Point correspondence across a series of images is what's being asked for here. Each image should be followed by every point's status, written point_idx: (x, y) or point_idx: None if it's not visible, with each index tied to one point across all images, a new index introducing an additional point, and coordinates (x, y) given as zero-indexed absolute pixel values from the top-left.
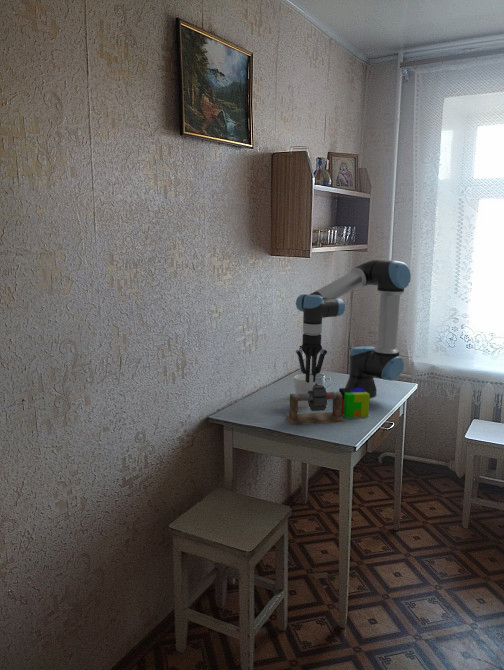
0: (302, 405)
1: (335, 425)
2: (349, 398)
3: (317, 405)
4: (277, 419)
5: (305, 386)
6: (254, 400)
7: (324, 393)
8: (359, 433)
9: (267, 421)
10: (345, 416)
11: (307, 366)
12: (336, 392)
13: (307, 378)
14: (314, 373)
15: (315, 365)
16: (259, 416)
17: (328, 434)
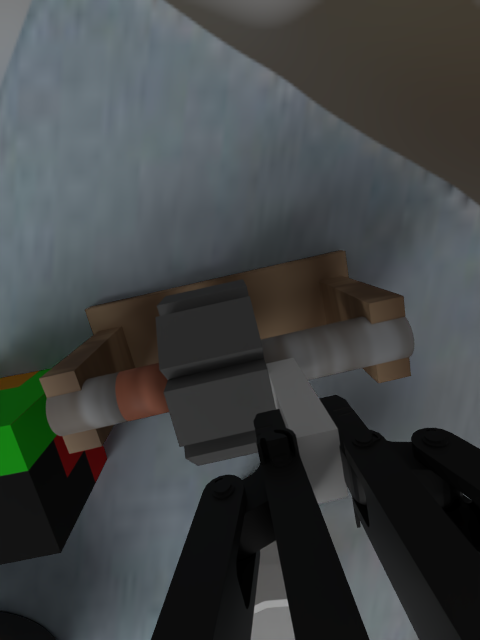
0: None
1: (135, 254)
2: (7, 415)
3: (227, 283)
4: None
5: (274, 558)
6: None
7: (173, 328)
8: (17, 141)
9: (446, 289)
10: None
11: (449, 521)
12: (77, 410)
13: (346, 417)
14: (283, 456)
15: (299, 569)
16: (469, 350)
17: (181, 120)
